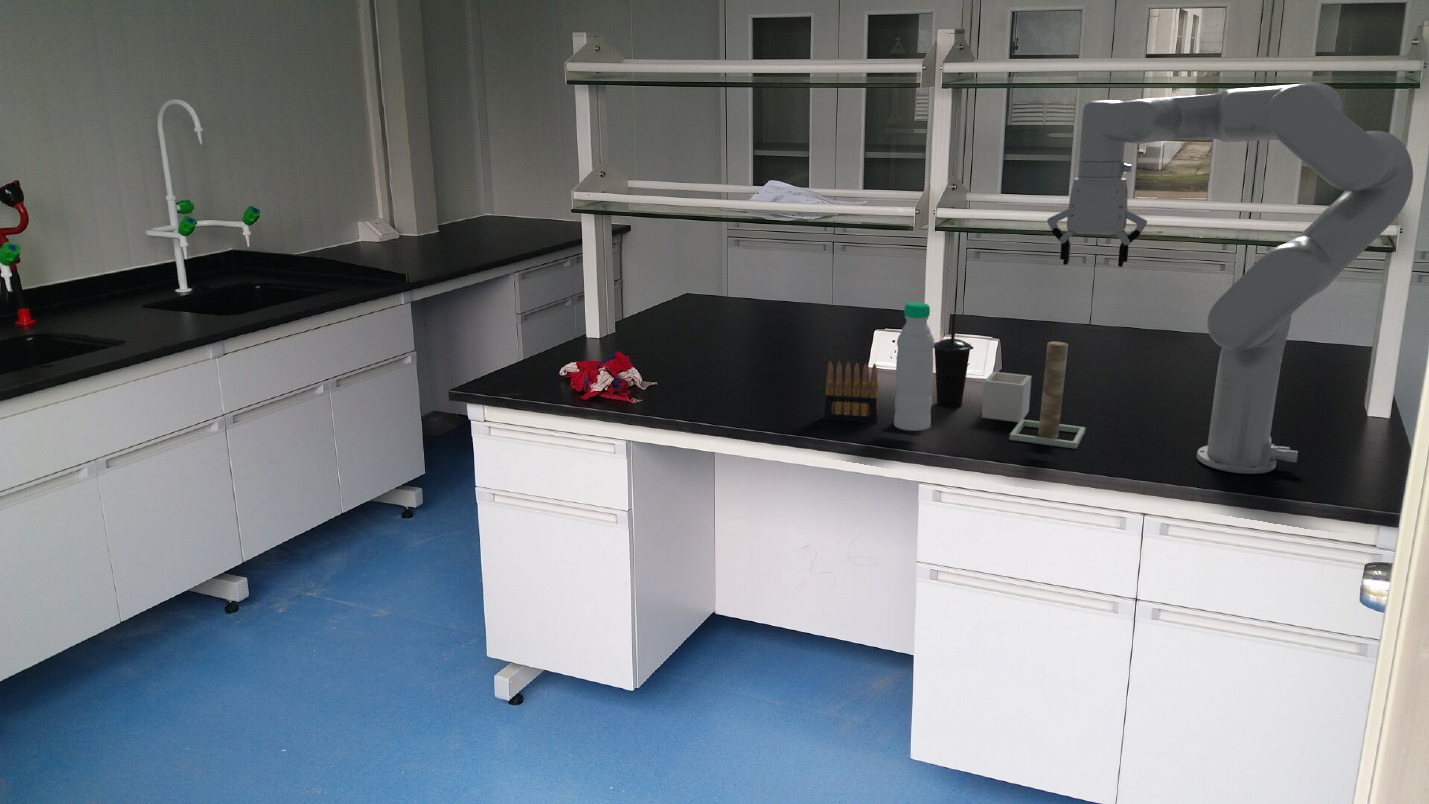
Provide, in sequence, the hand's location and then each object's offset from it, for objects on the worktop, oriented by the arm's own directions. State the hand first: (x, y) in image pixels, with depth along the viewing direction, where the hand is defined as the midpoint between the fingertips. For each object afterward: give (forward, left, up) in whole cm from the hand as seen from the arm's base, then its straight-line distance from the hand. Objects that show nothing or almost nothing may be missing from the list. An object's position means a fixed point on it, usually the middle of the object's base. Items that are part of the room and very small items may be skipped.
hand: (1093, 264), depth 196 cm
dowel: (+4, +10, -31) cm, 33 cm away
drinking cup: (+26, -2, -32) cm, 41 cm away
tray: (+4, +10, -32) cm, 34 cm away
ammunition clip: (+42, +13, -32) cm, 55 cm away
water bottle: (+29, +14, -32) cm, 46 cm away
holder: (+14, 0, -32) cm, 35 cm away
